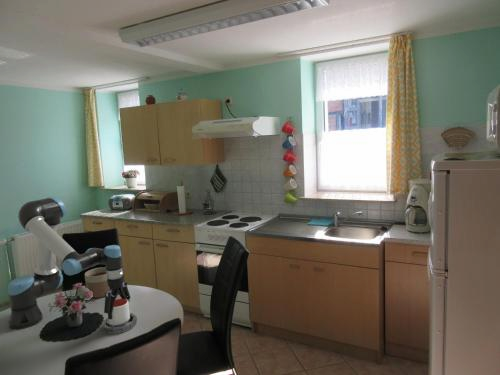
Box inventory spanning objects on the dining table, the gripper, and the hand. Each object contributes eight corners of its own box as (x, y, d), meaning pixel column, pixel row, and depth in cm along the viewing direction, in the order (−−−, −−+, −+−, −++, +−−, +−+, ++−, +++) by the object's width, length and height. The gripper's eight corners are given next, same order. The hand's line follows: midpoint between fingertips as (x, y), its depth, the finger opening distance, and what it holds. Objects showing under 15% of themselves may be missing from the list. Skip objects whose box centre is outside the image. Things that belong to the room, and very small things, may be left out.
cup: (123, 327, 180) (121, 307, 179) (104, 326, 182) (102, 306, 181) (133, 317, 190) (132, 298, 189) (116, 316, 192) (114, 298, 191)
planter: (81, 298, 221) (79, 276, 219) (96, 287, 237) (94, 266, 235) (105, 299, 219) (103, 276, 217) (119, 288, 234) (117, 267, 232)
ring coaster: (95, 331, 181) (95, 326, 181) (117, 316, 196) (116, 311, 196) (123, 335, 176) (122, 330, 176) (142, 319, 191) (142, 314, 191)
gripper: (105, 286, 171) (110, 331, 174) (135, 269, 192) (139, 309, 195) (92, 285, 174) (97, 329, 177) (123, 268, 195) (127, 308, 198)
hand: (119, 319), depth 186 cm, fingers closed on cup, 10 cm apart
